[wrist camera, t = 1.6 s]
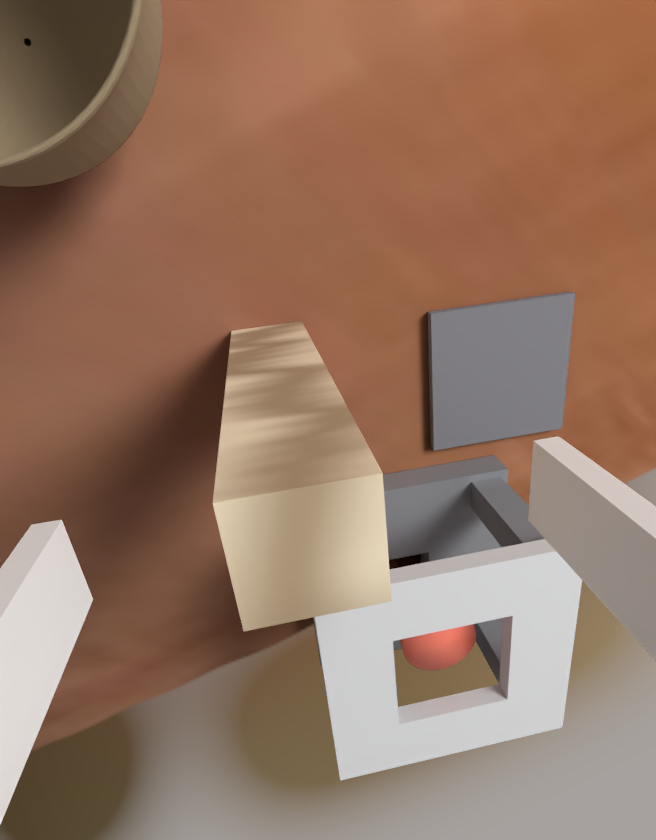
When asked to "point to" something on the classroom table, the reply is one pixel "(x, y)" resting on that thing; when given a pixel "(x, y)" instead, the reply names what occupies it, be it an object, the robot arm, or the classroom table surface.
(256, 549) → the light wooden bar
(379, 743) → the grey open box frame
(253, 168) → the classroom table surface
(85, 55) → the bowl
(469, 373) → the pad
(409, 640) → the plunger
